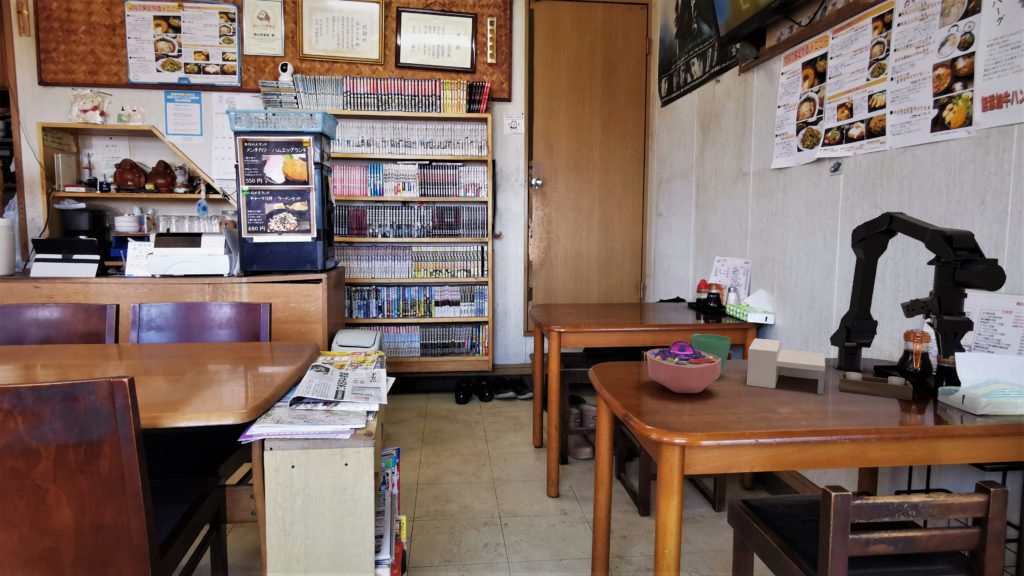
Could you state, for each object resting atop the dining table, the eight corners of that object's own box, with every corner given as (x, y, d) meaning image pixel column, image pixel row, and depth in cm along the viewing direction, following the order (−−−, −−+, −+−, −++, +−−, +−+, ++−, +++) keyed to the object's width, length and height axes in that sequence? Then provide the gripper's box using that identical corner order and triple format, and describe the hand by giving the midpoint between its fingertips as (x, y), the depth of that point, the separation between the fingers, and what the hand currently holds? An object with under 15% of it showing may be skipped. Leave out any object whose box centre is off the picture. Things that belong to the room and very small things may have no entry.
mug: (736, 379, 143) (738, 341, 142) (700, 380, 142) (702, 341, 141) (709, 366, 157) (710, 331, 156) (675, 367, 156) (677, 331, 155)
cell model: (641, 398, 126) (643, 348, 125) (647, 377, 145) (649, 333, 144) (722, 406, 121) (724, 354, 120) (717, 383, 140) (719, 338, 139)
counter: (753, 371, 152) (754, 338, 151) (822, 379, 145) (824, 344, 144) (746, 384, 138) (748, 348, 137) (823, 394, 130) (825, 356, 130)
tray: (839, 385, 139) (840, 369, 138) (907, 393, 132) (909, 376, 132) (839, 391, 133) (841, 374, 133) (911, 400, 127) (913, 382, 126)
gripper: (899, 282, 136) (894, 346, 138) (911, 288, 120) (905, 360, 121) (957, 284, 131) (951, 350, 132) (977, 291, 115) (970, 366, 116)
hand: (943, 356), depth 126 cm, fingers open, 4 cm apart
